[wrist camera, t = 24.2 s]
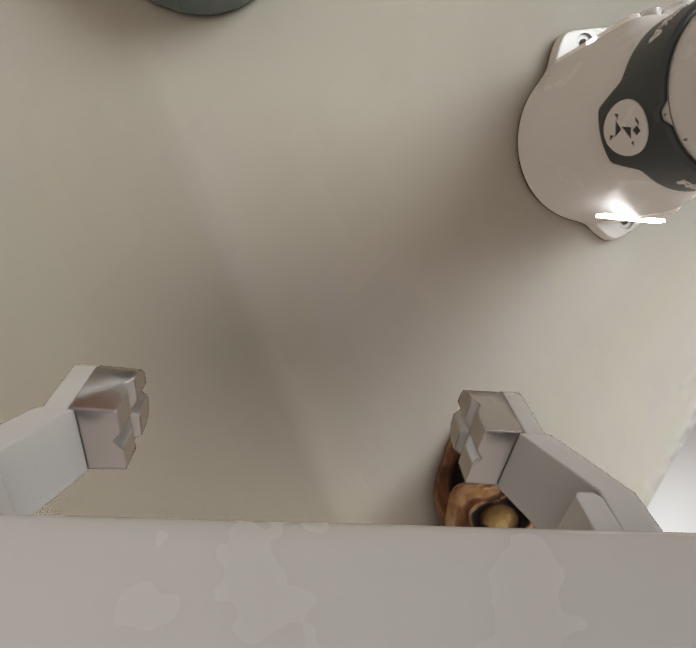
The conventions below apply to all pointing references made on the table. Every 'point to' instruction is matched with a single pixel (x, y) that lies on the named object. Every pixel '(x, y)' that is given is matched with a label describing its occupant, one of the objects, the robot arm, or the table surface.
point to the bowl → (201, 5)
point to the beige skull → (472, 500)
